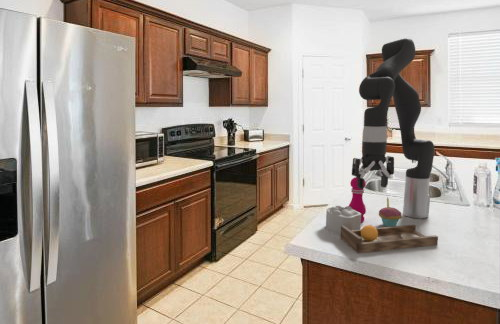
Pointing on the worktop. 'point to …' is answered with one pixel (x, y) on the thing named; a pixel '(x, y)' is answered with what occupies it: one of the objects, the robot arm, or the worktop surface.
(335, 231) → the lumpy-topped squat cylinder
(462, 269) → the worktop surface
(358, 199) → the pepper mill
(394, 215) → the cupcake
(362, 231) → the ball
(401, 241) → the wooden tray
